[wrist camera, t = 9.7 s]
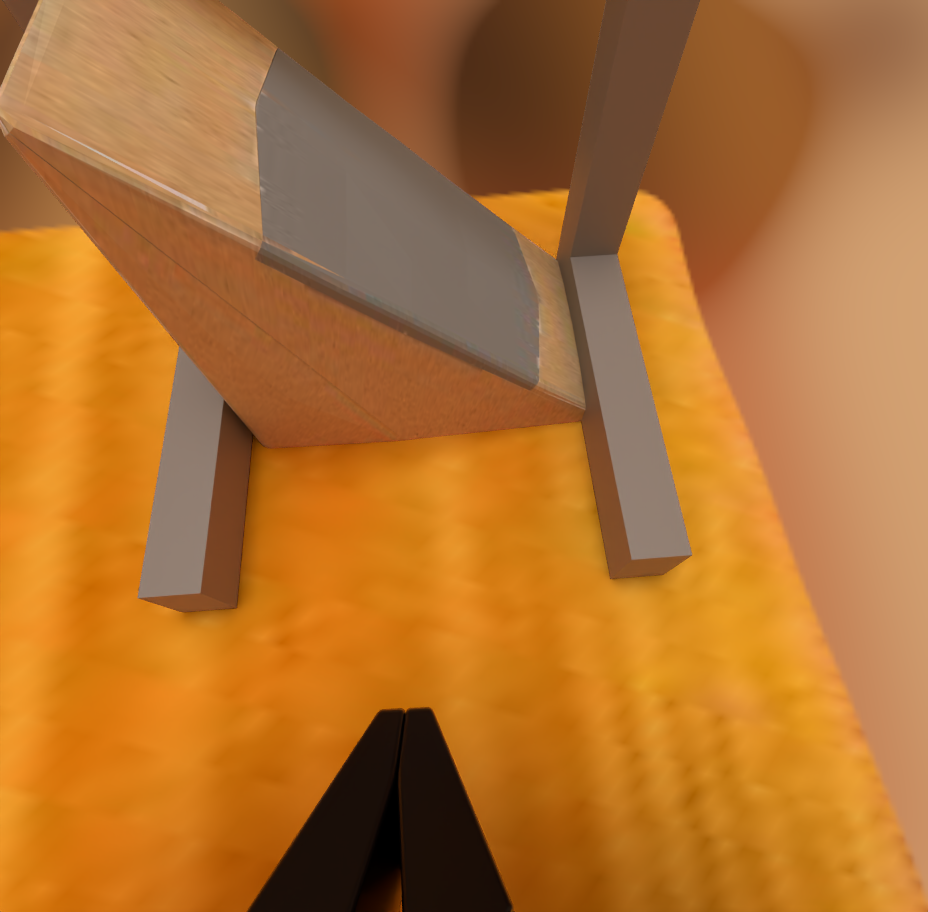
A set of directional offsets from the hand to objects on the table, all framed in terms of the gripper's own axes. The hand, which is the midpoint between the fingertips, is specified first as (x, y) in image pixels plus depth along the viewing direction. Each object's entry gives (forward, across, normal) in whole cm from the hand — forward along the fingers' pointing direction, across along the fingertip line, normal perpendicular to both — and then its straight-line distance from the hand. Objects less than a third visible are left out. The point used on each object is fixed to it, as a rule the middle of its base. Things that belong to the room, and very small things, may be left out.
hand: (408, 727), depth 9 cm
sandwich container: (+19, 0, -2) cm, 19 cm away
